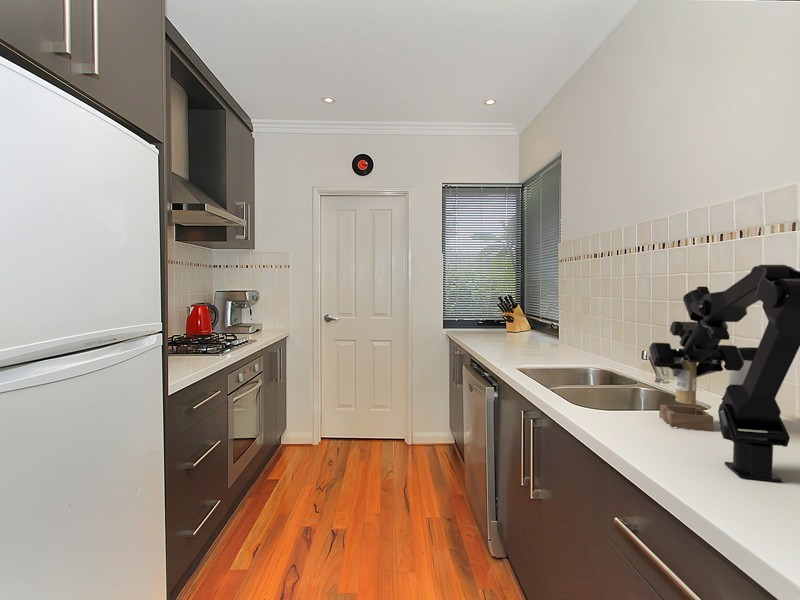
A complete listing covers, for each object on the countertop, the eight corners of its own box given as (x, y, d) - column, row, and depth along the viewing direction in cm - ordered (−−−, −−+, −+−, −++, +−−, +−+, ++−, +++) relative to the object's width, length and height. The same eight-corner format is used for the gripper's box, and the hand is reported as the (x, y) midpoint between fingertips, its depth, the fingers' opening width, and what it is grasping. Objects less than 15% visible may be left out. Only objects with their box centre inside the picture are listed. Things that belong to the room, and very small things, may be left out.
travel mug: (757, 429, 106) (760, 348, 106) (725, 422, 111) (727, 345, 111) (762, 424, 110) (765, 346, 110) (730, 418, 115) (733, 343, 115)
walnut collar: (713, 431, 104) (713, 417, 104) (671, 427, 107) (671, 413, 107) (697, 420, 113) (698, 407, 113) (659, 417, 115) (659, 404, 115)
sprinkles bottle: (700, 404, 107) (702, 351, 107) (683, 404, 107) (685, 350, 107) (687, 400, 112) (689, 348, 112) (670, 400, 112) (672, 348, 111)
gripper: (739, 312, 103) (715, 352, 114) (652, 310, 107) (637, 349, 118) (757, 349, 96) (729, 388, 107) (663, 345, 100) (646, 383, 111)
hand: (684, 375), depth 111 cm, fingers closed on sprinkles bottle, 4 cm apart
